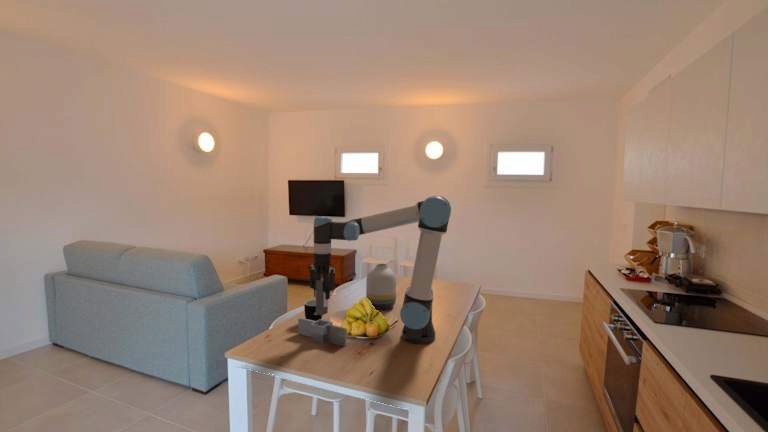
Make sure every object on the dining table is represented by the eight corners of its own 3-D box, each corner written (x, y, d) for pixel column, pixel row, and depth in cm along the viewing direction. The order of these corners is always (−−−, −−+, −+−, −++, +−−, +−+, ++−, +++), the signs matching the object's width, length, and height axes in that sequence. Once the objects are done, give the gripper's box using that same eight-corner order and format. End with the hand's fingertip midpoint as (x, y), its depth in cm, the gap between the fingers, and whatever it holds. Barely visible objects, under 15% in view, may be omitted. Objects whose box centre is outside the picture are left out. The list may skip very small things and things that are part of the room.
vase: (390, 313, 192) (391, 269, 190) (361, 309, 197) (362, 266, 195) (399, 303, 208) (400, 263, 206) (372, 300, 213) (373, 260, 211)
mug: (312, 328, 170) (312, 307, 169) (300, 323, 176) (300, 303, 175) (331, 320, 180) (331, 301, 179) (319, 316, 185) (319, 297, 184)
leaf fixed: (349, 343, 155) (349, 326, 154) (341, 348, 149) (341, 331, 148) (320, 335, 162) (320, 319, 161) (311, 340, 156) (311, 324, 156)
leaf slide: (332, 337, 159) (332, 322, 159) (322, 343, 153) (322, 327, 152) (304, 330, 166) (304, 315, 166) (294, 335, 160) (294, 320, 160)
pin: (327, 312, 157) (327, 279, 156) (322, 315, 154) (322, 281, 153) (320, 311, 159) (321, 278, 158) (315, 313, 156) (316, 280, 155)
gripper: (343, 253, 154) (342, 306, 156) (312, 249, 162) (312, 299, 163) (333, 255, 147) (332, 311, 149) (301, 251, 155) (301, 304, 157)
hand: (321, 305), depth 156 cm, fingers closed on pin, 4 cm apart
